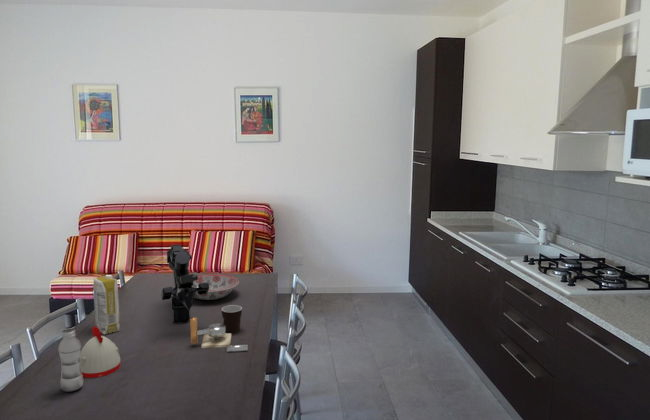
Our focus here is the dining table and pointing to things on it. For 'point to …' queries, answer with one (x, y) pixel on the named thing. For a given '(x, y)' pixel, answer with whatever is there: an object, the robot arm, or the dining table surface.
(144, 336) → the dining table surface
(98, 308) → the juice carton
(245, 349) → the loose steel rod
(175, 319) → the robot arm
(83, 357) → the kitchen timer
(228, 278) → the ceramic bowl
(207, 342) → the square beige tile
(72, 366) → the plastic bottle
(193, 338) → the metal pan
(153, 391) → the dining table surface
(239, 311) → the coffee mug
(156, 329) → the dining table surface
